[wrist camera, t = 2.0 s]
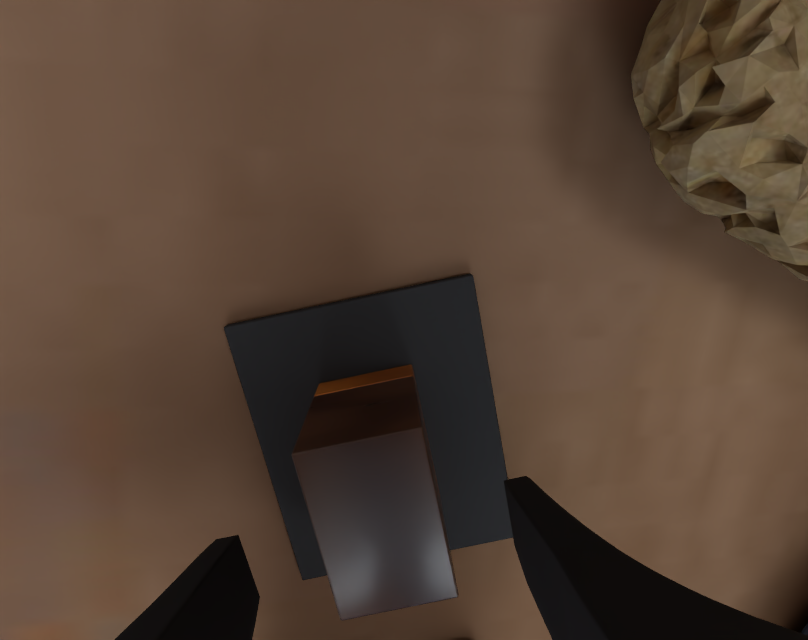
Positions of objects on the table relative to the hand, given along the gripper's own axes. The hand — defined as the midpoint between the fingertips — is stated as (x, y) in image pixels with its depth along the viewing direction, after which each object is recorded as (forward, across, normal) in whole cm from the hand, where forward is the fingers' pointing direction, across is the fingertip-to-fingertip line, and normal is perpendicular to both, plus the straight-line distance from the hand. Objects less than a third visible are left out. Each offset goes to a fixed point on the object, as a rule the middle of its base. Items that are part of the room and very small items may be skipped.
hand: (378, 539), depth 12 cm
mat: (+6, 0, 0) cm, 6 cm away
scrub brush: (+5, 0, 0) cm, 5 cm away
